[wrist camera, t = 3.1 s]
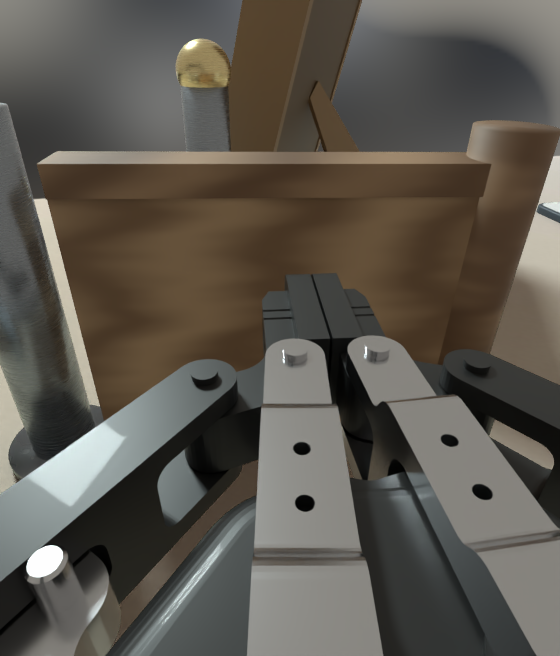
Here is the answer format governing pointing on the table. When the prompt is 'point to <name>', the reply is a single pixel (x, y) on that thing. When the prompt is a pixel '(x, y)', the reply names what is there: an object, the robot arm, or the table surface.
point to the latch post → (205, 96)
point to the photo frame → (289, 75)
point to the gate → (288, 245)
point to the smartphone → (550, 210)
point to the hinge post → (34, 326)
